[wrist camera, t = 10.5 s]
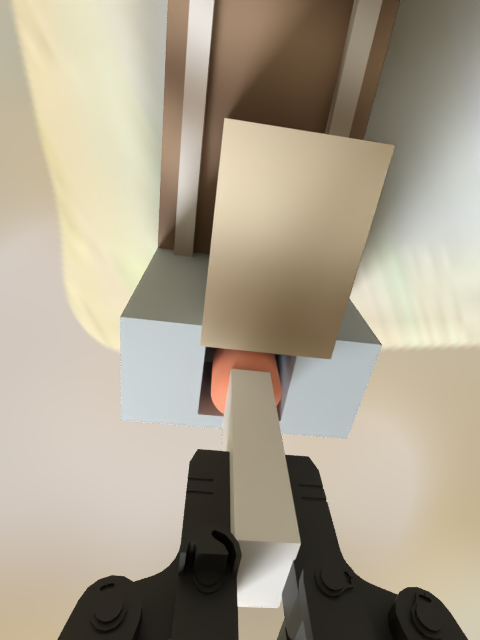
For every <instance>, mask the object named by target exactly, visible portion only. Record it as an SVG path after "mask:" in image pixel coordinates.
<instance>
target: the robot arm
mask: <svg viewBox="0 0 480 640" xmlns="http://www.w3.org/2000/svg"><path fill="white" fill-rule="evenodd" d="M281 599H282V600H283V608H284V616H285V619H284V622H283V624H282V627H281V630H280V632H279V636H278V638H277V640H468V639H467V637H466V636H465V634H464V633H463V631H462V630H461V628H460V627H459V625H458V624H457V622H456V620H455V619H454V617H453V616H452V614H451V613H450V612H449V610H448V609H447V608H446V607H445V605H444V604H443V603H442V602H441V601H440V600H439V599H438V598H436V597H435V596H434V595H432V594H431V593H430V592H428V591H426V590H423V589H421V588H418V587H407V588H405V589H404V590H402V591H400V592H399V594H398V595H397V594H395V593H392V592H390V591H387V590H385V589H382V588H380V587H377V586H375V585H372V584H370V583H368V582H366V581H364V580H363V579H362V578H360V577H359V576H358V575H356V574H355V573H354V571H353V570H352V569H351V567H350V566H349V565H348V564H347V563H346V561H345V560H344V558H343V556H342V553H341V551H340V548H339V544H338V540H337V536H336V533H335V529H334V525H333V522H332V518H331V514H330V510H329V507H328V503H327V502H326V496H325V492H324V489H323V485H322V481H321V477H320V474H319V470H318V469H317V468H316V466H315V465H314V463H313V462H312V461H311V459H310V458H309V457H307V456H294V455H285V453H284V447H283V441H282V436H281V430H280V425H279V419H278V413H277V408H276V402H275V397H274V391H273V386H272V380H271V375H270V372H261V371H250V370H240V369H231V372H230V378H229V385H228V391H227V397H226V404H225V410H224V417H223V423H222V451H214V450H201V449H198V450H197V451H196V453H195V455H194V456H193V458H192V460H191V461H190V464H189V473H188V482H187V491H186V500H185V509H184V520H183V529H182V538H181V545H180V549H179V552H178V554H177V556H176V558H175V560H174V561H173V562H172V563H171V564H170V566H169V567H167V568H166V569H165V570H163V571H162V572H160V573H158V574H156V575H154V576H151V577H148V578H144V579H141V580H138V581H135V582H133V581H131V580H129V579H128V578H126V577H124V576H114V575H112V576H109V577H106V578H102V579H100V580H98V581H96V582H95V583H94V584H92V585H91V586H90V587H88V588H87V590H86V591H85V592H84V594H83V595H82V596H81V598H80V599H79V600H78V602H77V604H76V606H75V608H74V610H73V612H72V613H71V615H70V617H69V619H68V621H67V623H66V625H65V626H64V628H63V630H62V632H61V634H60V636H59V638H58V640H238V607H264V608H278V607H279V605H280V602H281Z"/></svg>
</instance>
